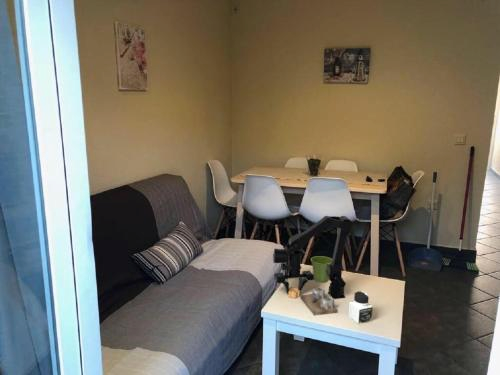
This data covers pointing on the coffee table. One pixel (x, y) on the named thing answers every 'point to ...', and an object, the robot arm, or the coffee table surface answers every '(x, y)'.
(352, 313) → the medicine bottle
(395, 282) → the coffee table surface
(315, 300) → the gear board
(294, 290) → the orange gear
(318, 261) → the plant pot
